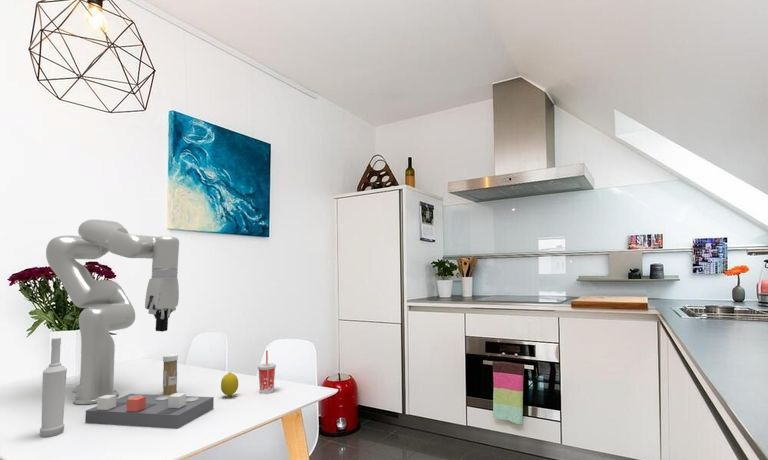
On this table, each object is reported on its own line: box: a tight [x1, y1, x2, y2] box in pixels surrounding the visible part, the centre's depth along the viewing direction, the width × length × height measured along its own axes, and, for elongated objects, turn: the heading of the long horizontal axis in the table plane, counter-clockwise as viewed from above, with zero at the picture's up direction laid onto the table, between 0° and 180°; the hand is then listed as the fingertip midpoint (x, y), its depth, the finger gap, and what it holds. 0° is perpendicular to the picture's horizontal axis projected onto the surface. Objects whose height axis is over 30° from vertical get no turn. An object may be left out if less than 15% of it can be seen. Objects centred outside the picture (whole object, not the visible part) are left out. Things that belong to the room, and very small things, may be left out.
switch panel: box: [84, 393, 215, 429], centre depth 124 cm, size 30×16×4 cm, turn 78°
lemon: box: [220, 372, 239, 398], centre depth 141 cm, size 6×6×8 cm
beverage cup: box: [257, 350, 277, 395], centre depth 146 cm, size 6×6×14 cm
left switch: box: [96, 395, 117, 410], centre depth 121 cm, size 4×3×3 cm
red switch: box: [127, 396, 146, 412], centre depth 119 cm, size 4×3×3 cm
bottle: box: [39, 337, 68, 438], centre depth 113 cm, size 5×5×25 cm
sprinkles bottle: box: [162, 353, 179, 395], centre depth 146 cm, size 5×5×14 cm
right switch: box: [168, 392, 187, 408], centre depth 121 cm, size 4×3×3 cm
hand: (161, 330), depth 136 cm, fingers closed
